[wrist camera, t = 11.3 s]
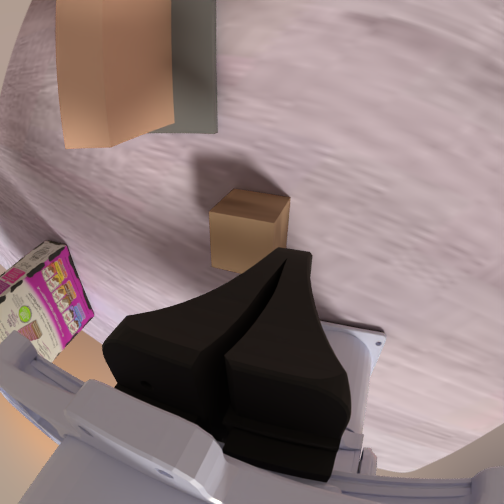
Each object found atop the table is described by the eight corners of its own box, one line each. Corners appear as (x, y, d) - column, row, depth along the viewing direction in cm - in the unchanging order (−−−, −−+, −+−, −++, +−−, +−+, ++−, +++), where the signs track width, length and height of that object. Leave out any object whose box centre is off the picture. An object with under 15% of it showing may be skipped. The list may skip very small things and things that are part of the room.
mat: (217, 132, 20) (214, 133, 20) (107, 133, 23) (103, 134, 22) (216, -35, 14) (212, -37, 13) (101, -3, 16) (96, -3, 16)
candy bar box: (45, 238, 34) (-50, 316, 21) (67, 243, 32) (-37, 331, 19) (73, 308, 40) (-2, 386, 26) (96, 317, 38) (18, 404, 25)
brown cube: (286, 248, 23) (270, 280, 20) (232, 237, 24) (209, 266, 21) (290, 197, 21) (274, 223, 18) (232, 187, 22) (206, 211, 19)
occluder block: (174, 123, 20) (110, 147, 15) (130, 124, 21) (65, 148, 16) (171, -13, 15) (103, -28, 10) (125, 0, 16) (56, -5, 11)
